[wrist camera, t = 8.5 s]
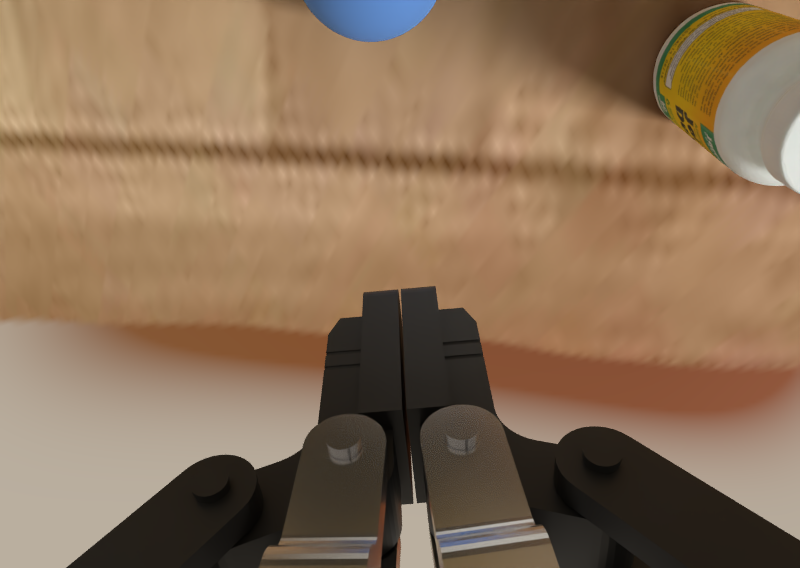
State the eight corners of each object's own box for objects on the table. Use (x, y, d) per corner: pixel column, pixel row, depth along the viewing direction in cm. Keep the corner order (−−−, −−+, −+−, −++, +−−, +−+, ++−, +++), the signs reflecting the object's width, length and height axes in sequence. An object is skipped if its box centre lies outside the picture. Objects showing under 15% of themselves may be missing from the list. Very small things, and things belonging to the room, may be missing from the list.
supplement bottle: (801, 36, 27) (983, 100, 19) (717, 145, 30) (845, 244, 22) (703, -25, 26) (853, 16, 18) (623, 95, 28) (722, 180, 20)
